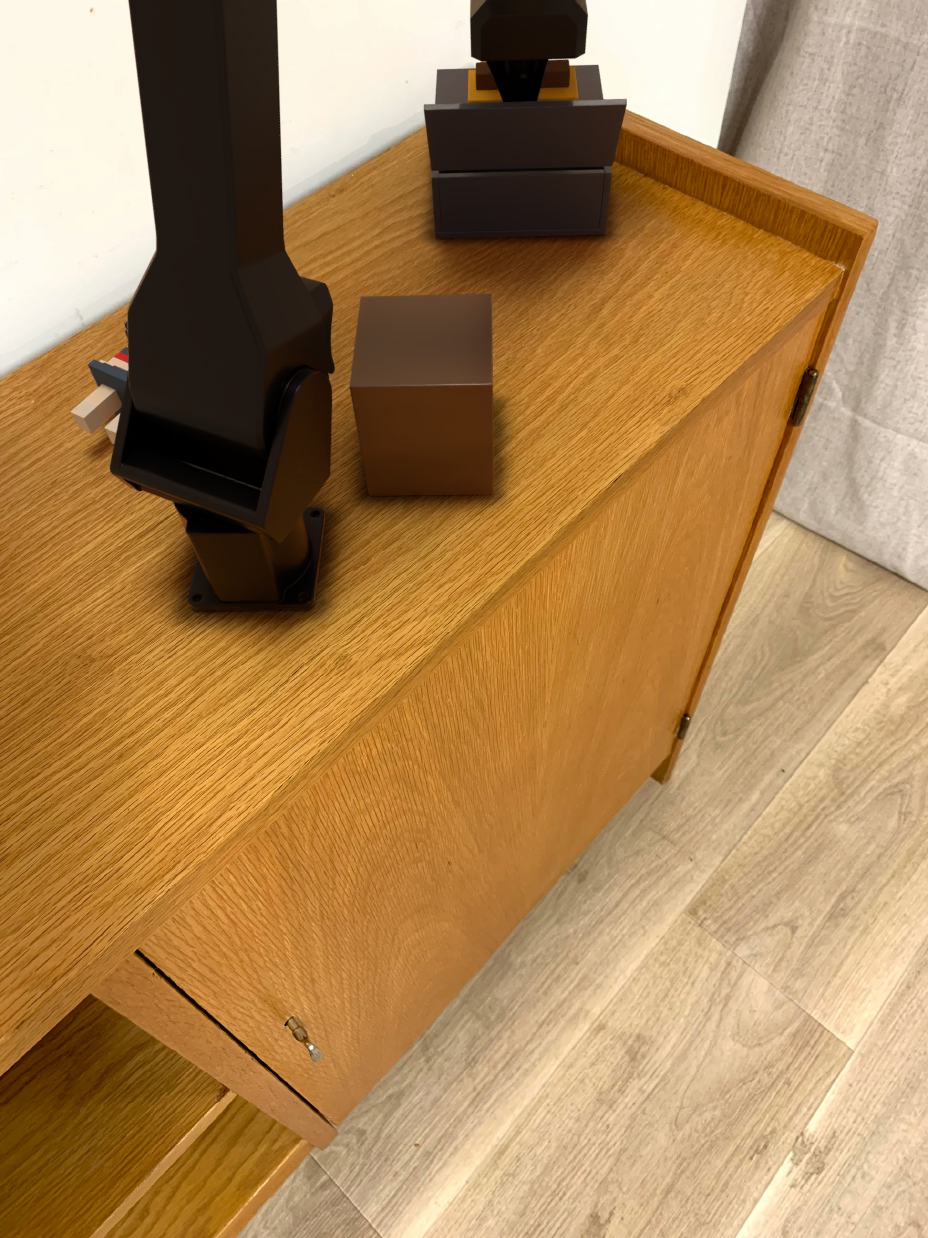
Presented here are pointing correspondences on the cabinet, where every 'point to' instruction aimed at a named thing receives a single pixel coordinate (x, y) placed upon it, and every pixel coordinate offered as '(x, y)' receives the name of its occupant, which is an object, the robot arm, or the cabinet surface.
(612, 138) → the flap
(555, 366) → the cabinet surface
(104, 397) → the figurine
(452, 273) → the cabinet surface
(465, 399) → the stand
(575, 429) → the cabinet surface
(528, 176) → the case
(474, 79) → the duster
